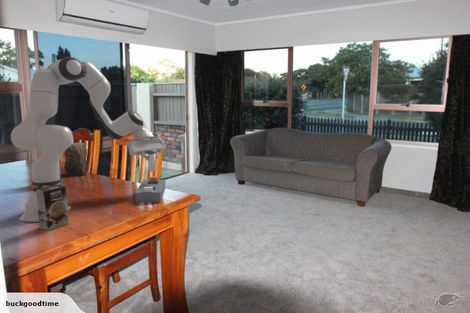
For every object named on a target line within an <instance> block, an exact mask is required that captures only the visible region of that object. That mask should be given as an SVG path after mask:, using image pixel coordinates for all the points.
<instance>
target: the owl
mask: <svg viewBox="0 0 470 313" xmlns="http://www.w3.org/2000/svg"><path fill="white" fill-rule="evenodd" d="M86 146H87V144H86V142H73V143H72V144H71V145H70V147H69V148H67V149H66V150H65V151H64V152H63V155H64V157H65V159H66V160H65V161H64V166H63V168H64V170H65V172H66V175H67V176H74V177H75V176H78V177H79V176H80V177H82V176H85V175H86V174H87V172H88V165H89V164H88V160H87V156H88V149H87V148H86Z"/></svg>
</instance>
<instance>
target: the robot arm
mask: <svg viewBox="0 0 470 313" xmlns="http://www.w3.org/2000/svg"><path fill="white" fill-rule="evenodd" d="M75 81H76V82H77V83H79V84H80V85H82V87H83V88H84V89H85V90H86V91H87V93H88V94H89V99H88V101H89V105H90V107H91V108H92V110H93V112H94V113H95V115H96V116H97V118H98V119H99V121H100V123H102V125H103V127H104V128H105V131H106V133H107V134H108V136H109V137H110V138H111V139H112V140H115V141H120V140H122V139H123V138H125V137H126V136H127V135H128V134H130V133H131V134H132V136H133V139H128V140H127V141H126V142H125V144H126V146H127V147H128V152H129V155H130V156H132V157H134V156H140V157H142V158H144V159H145V161H148V160H149V156H148V151H149V150H155V155H156V160H158V159H159V153H163V152H165V151H166V149H167V146H166V144H165V142H164V141H163V139H162V138H161V136H160V134H159V133H155V132H151V131H149V130H148V128H147V124H146V122H145V120H144V119H143V118H142V116H141V115H140V114H139V113H138V112H136V111H133V110H128V111H126V112H124V113H123V114H122V115H121V116H119V117H117V118H116V119H114V120H111V118H110V117H109V115H108V113H107V112H106V111H105V108H104V103H105V102H106V100H107V98H109V95H110V93H111V91H112V90H111V82H109V80H108V79H107V78H106V77H105V75H104V74H103V73H102V72H101V71H100V70H99V69H98V68H97V67H96V66H95V65H94V64H93V63H91V62H89V61H87V60H86V61H81V60H80V59H77V58H76V57H73V56H66V57H63V58H61V59H58V60H55V61H54V62H52V63H50V65H48V67H47V68H46V69H45V68H42V69H41V68H40V69H38V70H36V71H34V73H33V74H32V78H31V83H30V88H29V89H30V91H29V92H30V94H29V104H28V110H27V113H26V116H25V118H23V120H22V121H21V122H20V123H19V124H18V125H17V126H15V127H14V128H13V129H12V131H11V134H10V141H11V142H12V145H14V147H15V148H17V149H18V148H19V149H23V150H28V151H29V150H31V151H32V150H34V151H35V150H37V151H41V155H40V156H41V157H40V158H39V157H38V158H36V159H35V160H34V161H32V163H31V165H30V166H31V167H30V169H31V177H32V178H31V179H32V181H31V183H30V184H29V185H28V190H30V191H31V192H30V193H29V196H28V198H27V201H26V202H25V205H24V212H23V214H22V215H21V216H20V217H19V222H26V223H27V222H29V223H30V222H31V223H32V222H33V223H34V222H38V223H39V215H38V203H37V192H36V189H39V188H44V187H48V186H53V185H62V186H63V184H62V183H63V181H62V178H61V175H60V173H61V172H60V162H61V159H62V155H64V153H65V150H66V149H67V148H69V147H70V145H71V144H73V143H74V142H73V141H74V134H73V132H72V130H71V129H70V128H69V127H68V126H64V125H59V124H46V123H47V121H48V120H49V119H51V118H53V117H54V116H55V115H56V114H57V113H58V110H59V109H58V108H59V88H60V86H65V85H66V84H67V85H68V84H71V83H74V82H75ZM67 207H68V211H70V210H71V209H72V208H71V206H70V205H68V203H67Z"/></svg>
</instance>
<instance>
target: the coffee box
mask: <svg viewBox="0 0 470 313" xmlns="http://www.w3.org/2000/svg"><path fill="white" fill-rule="evenodd" d="M36 192H37V203H38V215H39V221H38V224H39V225H38V226H39V228H40V229H43V230H45V231H51V230H54V229H57V228H60V227H62V226H63V227H64V226H66V225H69V224H70V222H69V210H68V207H67V204H68V197H67V186H66V185H63V184H62V185H53V186H48V187H44V188H39V189H36Z"/></svg>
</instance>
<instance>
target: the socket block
mask: <svg viewBox="0 0 470 313" xmlns="http://www.w3.org/2000/svg"><path fill="white" fill-rule="evenodd" d="M158 177H159V176H149V179H143V180H142V182H141V183H140V184H139V186H138V188H137V189H136V191H135V193H134V194H135V195H134V196H135V204H137V203H139V204H141V203H161V201H162V199H163V196H164V193H165V191H166V179H158Z"/></svg>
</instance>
